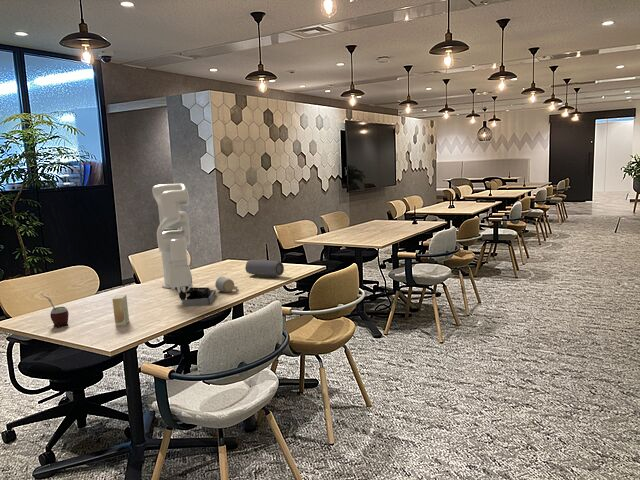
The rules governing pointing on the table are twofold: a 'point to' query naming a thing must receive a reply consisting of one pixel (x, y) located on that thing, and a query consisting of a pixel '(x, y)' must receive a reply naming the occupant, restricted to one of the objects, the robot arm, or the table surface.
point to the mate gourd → (59, 315)
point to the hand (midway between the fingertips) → (183, 299)
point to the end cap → (198, 293)
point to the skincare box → (120, 310)
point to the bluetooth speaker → (264, 268)
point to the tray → (200, 300)
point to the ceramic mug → (225, 284)
